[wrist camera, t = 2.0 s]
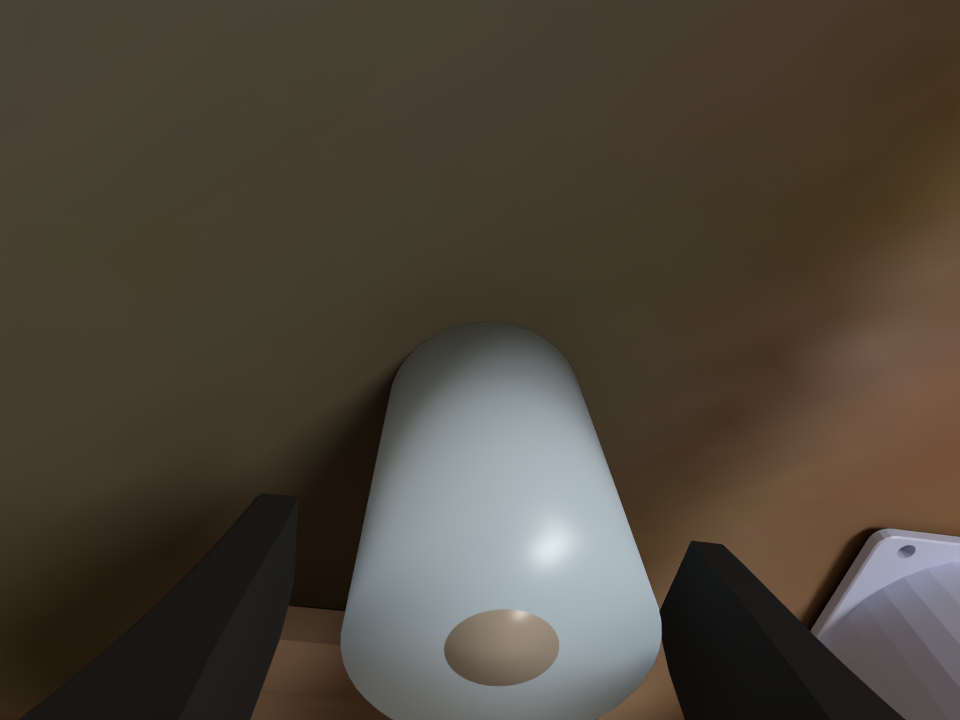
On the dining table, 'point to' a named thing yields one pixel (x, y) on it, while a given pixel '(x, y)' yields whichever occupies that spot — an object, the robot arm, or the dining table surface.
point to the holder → (311, 673)
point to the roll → (495, 544)
